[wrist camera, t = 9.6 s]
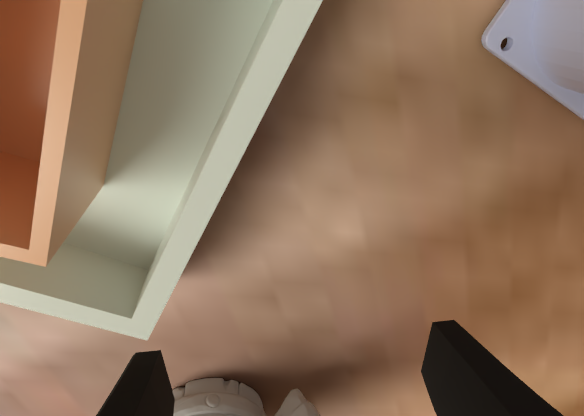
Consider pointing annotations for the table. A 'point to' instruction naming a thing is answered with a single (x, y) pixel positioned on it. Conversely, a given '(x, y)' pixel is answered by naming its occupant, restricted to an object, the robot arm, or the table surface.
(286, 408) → the mug
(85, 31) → the box
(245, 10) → the big crate
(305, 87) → the table surface
